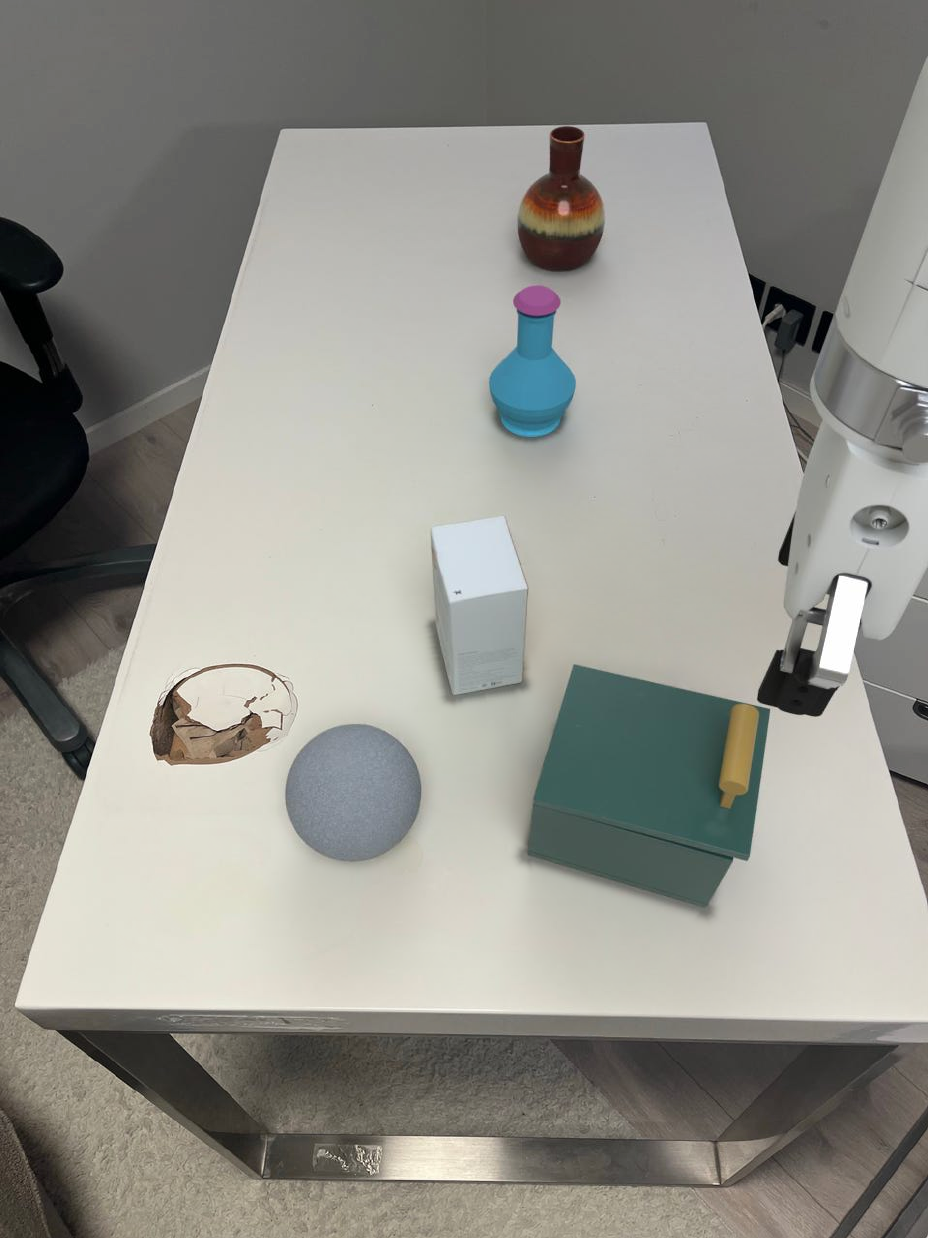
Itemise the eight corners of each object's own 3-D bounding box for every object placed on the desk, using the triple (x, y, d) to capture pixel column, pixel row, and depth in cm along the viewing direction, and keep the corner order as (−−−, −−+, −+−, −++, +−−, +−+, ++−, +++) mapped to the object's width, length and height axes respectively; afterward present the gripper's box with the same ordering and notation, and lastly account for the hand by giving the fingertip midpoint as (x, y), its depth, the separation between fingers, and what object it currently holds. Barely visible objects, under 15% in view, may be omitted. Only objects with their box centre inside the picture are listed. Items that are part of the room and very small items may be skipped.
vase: (498, 253, 119) (500, 132, 106) (558, 223, 123) (567, 103, 111) (558, 289, 114) (567, 166, 101) (618, 256, 118) (634, 134, 106)
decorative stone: (447, 841, 69) (443, 782, 61) (330, 906, 67) (309, 853, 59) (388, 743, 75) (377, 677, 67) (277, 799, 72) (251, 737, 64)
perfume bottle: (568, 388, 102) (580, 267, 90) (576, 444, 96) (589, 322, 84) (487, 390, 102) (488, 269, 90) (490, 446, 96) (491, 325, 84)
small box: (523, 684, 78) (530, 589, 68) (452, 697, 77) (447, 603, 67) (502, 611, 83) (505, 513, 72) (434, 623, 82) (427, 525, 72)
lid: (768, 714, 65) (783, 677, 61) (747, 861, 58) (762, 830, 55) (573, 669, 68) (575, 631, 64) (532, 804, 62) (533, 770, 58)
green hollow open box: (728, 772, 73) (754, 716, 66) (706, 908, 66) (732, 862, 59) (564, 728, 75) (573, 670, 68) (527, 855, 69) (532, 804, 62)
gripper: (1036, 553, 29) (859, 790, 43) (1014, 266, 39) (876, 533, 53) (799, 504, 31) (702, 749, 44) (836, 240, 41) (747, 506, 54)
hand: (797, 631), depth 49 cm, fingers open, 9 cm apart
